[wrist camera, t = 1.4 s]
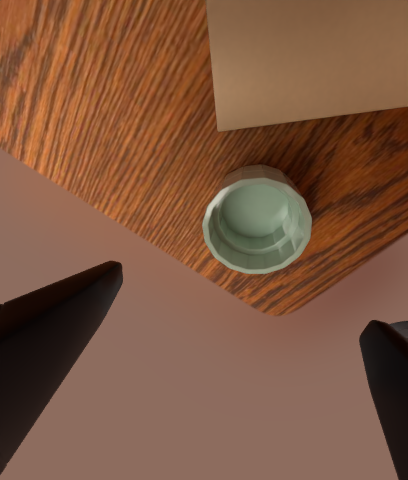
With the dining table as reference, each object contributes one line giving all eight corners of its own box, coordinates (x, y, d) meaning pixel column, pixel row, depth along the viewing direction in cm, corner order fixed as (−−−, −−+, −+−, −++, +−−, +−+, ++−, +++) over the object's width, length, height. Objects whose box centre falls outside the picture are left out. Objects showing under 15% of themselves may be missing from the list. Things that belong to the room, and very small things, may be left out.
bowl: (296, 242, 20) (307, 274, 16) (217, 244, 21) (209, 273, 17) (301, 158, 16) (316, 173, 13) (207, 168, 18) (196, 183, 14)
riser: (383, 107, 14) (412, 105, 12) (222, 128, 16) (217, 132, 14) (437, -165, 10) (505, -266, 7) (204, -86, 12) (192, -141, 9)
